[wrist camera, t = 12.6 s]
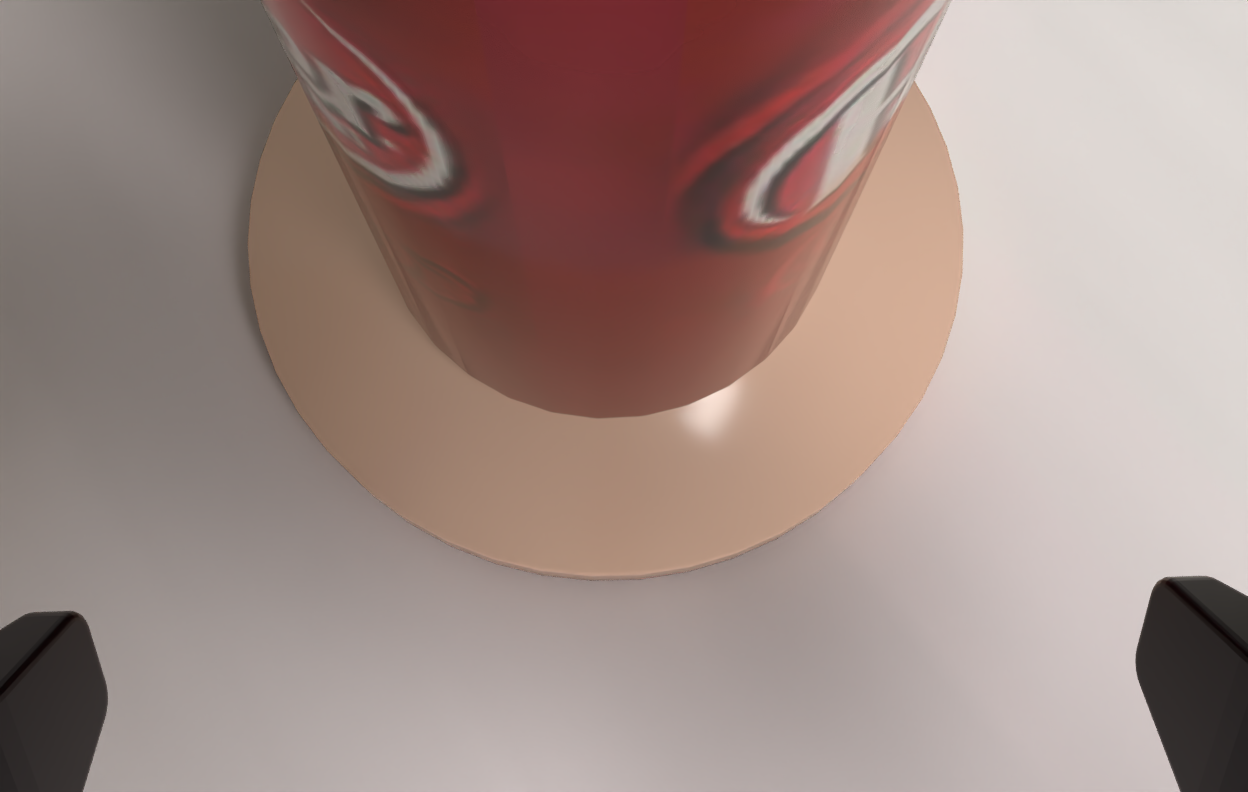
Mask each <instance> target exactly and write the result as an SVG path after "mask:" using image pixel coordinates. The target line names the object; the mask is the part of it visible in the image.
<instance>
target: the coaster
mask: <svg viewBox="0 0 1248 792" xmlns="http://www.w3.org/2000/svg"><path fill="white" fill-rule="evenodd" d="M248 256H249V271H250V286H251V291H252V295H253V300H254V305H255V309H256V314H257V319H258V323H259V328H260V331H261V334H262V337H263V339H264V342H265V345H266V347H267V350H268V353H269V355H270V358H271V361H272V363H273V366H274V369H275V371H276V373H277V375H278V377H279V379H280V381H281V382H282V384H283V386H284V388H285V390H286V391H287V393H288V395H289V397H290V399H291V401H292V402H293V404H294V406H295V408H296V410H297V411H298V413H299V414H300V415H301V417H302V418H303V419H304V421H305V422H306V423H307V425H308V426H309V427H310V429H311V430H312V431H313V433H314V434H315V435H316V437H317V438H318V439H319V441H320V442H321V443H322V445H323V446H324V447H325V449H326V450H327V451H328V452H329V453H330V454H331V455H332V456H333V457H334V458H335V459H336V460H337V461H338V462H339V463H340V464H341V465H342V466H343V467H344V468H345V469H346V470H347V471H348V472H349V473H350V474H351V475H352V476H353V477H354V478H355V479H356V480H357V481H358V482H359V483H360V484H361V485H362V486H363V487H364V488H366V489H367V490H368V491H369V492H370V493H371V494H372V495H373V496H374V497H375V498H377V499H378V500H379V501H381V502H382V503H383V504H385V505H386V506H387V507H389V508H390V509H391V510H393V511H394V512H395V513H397V514H398V515H399V516H401V517H402V518H403V519H404V520H406V521H407V522H408V523H410V524H412V525H413V526H415V527H417V528H419V529H421V530H422V531H424V532H426V533H428V534H430V535H431V536H433V537H435V538H437V539H439V540H440V541H442V542H444V543H446V544H448V545H449V546H451V547H454V548H456V549H459V550H461V551H464V552H466V553H469V554H472V555H474V556H477V557H479V558H482V559H484V560H487V561H489V562H492V563H495V564H498V565H502V566H506V567H510V568H514V569H518V570H523V571H527V572H531V573H535V574H539V575H543V576H553V577H562V578H571V579H581V580H590V581H596V580H636V579H645V578H652V577H658V576H664V575H671V574H677V573H683V572H689V571H692V570H695V569H699V568H702V567H706V566H709V565H712V564H716V563H719V562H722V561H726V560H729V559H732V558H735V557H737V556H739V555H742V554H744V553H746V552H748V551H751V550H753V549H755V548H757V547H759V546H762V545H764V544H766V543H768V542H771V541H773V540H775V539H777V538H779V537H780V536H782V535H784V534H785V533H787V532H788V531H790V530H792V529H793V528H795V527H796V526H798V525H800V524H801V523H803V522H804V521H806V520H808V519H809V518H811V517H812V516H814V515H816V514H817V513H818V512H819V511H821V510H822V509H823V508H824V507H825V506H827V505H828V504H829V503H830V502H831V501H833V500H834V499H835V498H836V497H837V496H839V495H840V494H841V493H842V492H843V491H845V490H846V489H847V488H848V487H849V486H851V485H852V484H853V483H854V482H855V481H856V480H857V479H858V478H859V477H860V476H861V475H862V474H863V473H864V472H865V471H866V469H867V468H868V467H869V466H870V465H871V464H872V463H873V462H874V461H875V460H876V458H877V457H878V456H879V455H880V454H881V453H882V452H883V451H884V450H885V449H886V447H887V446H888V445H889V444H890V443H891V442H892V441H893V440H894V439H895V437H896V436H897V435H898V433H899V432H900V430H901V429H902V427H903V426H904V425H905V423H906V422H907V420H908V419H909V417H910V416H911V414H912V413H913V411H914V410H915V408H916V407H917V405H918V404H919V402H920V401H921V399H922V398H923V396H924V394H925V392H926V390H927V387H928V385H929V383H930V381H931V379H932V377H933V375H934V373H935V371H936V369H937V367H938V365H939V363H940V361H941V359H942V356H943V353H944V350H945V346H946V343H947V340H948V337H949V334H950V331H951V328H952V324H953V321H954V318H955V314H956V308H957V302H958V296H959V290H960V284H961V278H962V264H963V225H962V217H961V209H960V201H959V193H958V186H957V183H956V179H955V175H954V171H953V168H952V164H951V160H950V157H949V153H948V149H947V146H946V144H945V141H944V139H943V137H942V134H941V132H940V130H939V127H938V125H937V122H936V120H935V118H934V115H933V113H932V111H931V108H930V107H929V105H928V103H927V101H926V100H925V98H924V96H923V95H922V93H921V91H920V90H919V88H918V86H917V85H916V83H915V81H914V82H913V84H912V86H911V89H910V91H909V93H908V95H907V97H906V99H905V101H904V104H903V106H902V108H901V110H900V112H899V114H898V116H897V119H896V121H895V123H894V125H893V127H892V129H891V131H890V134H889V136H888V138H887V140H886V142H885V144H884V146H883V148H882V151H881V153H880V155H879V157H878V159H877V161H876V163H875V166H874V168H873V170H872V172H871V174H870V176H869V178H868V181H867V183H866V185H865V187H864V189H863V191H862V193H861V196H860V198H859V200H858V202H857V204H856V206H855V208H854V211H853V213H852V215H851V217H850V219H849V221H848V223H847V226H846V228H845V230H844V232H843V234H842V236H841V238H840V241H839V243H838V245H837V247H836V249H835V251H834V253H833V255H832V258H831V260H830V262H829V264H828V266H827V268H826V270H825V273H824V275H823V277H822V279H821V281H820V283H819V285H818V288H817V290H816V292H815V293H814V295H813V297H812V298H811V300H810V302H809V304H808V305H807V307H806V309H805V311H804V312H803V314H802V316H801V317H800V319H799V321H798V323H797V324H796V326H795V327H794V328H793V330H792V331H791V332H790V333H789V334H788V335H787V336H786V337H785V338H784V339H783V341H782V342H781V343H780V344H779V345H778V346H777V347H776V348H775V349H774V351H773V352H772V353H771V354H770V355H769V356H768V357H767V358H766V359H765V360H764V361H763V362H761V363H760V364H759V365H757V366H756V367H754V368H753V369H752V370H750V371H749V372H748V373H746V374H745V375H744V376H742V377H741V378H739V379H738V380H737V381H735V382H734V383H733V384H731V385H730V386H728V387H726V388H724V389H722V390H720V391H718V392H716V393H713V394H711V395H709V396H707V397H705V398H703V399H700V400H698V401H696V402H694V403H692V404H690V405H687V406H683V407H679V408H675V409H671V410H667V411H663V412H659V413H655V414H651V415H647V416H640V417H621V418H602V419H595V418H588V417H581V416H574V415H566V414H559V413H552V412H549V411H546V410H543V409H540V408H537V407H534V406H531V405H528V404H525V403H522V402H519V401H516V400H513V399H510V398H508V397H506V396H504V395H503V394H501V393H499V392H497V391H496V390H494V389H492V388H490V387H489V386H487V385H485V384H484V383H482V382H480V381H478V380H477V379H475V378H473V377H471V376H470V375H468V374H467V373H466V372H465V371H464V370H463V369H462V368H460V367H459V366H458V365H457V364H456V363H455V362H454V361H452V360H451V359H450V358H449V357H448V356H447V355H446V354H445V353H443V352H442V351H441V350H440V349H439V348H438V347H437V346H435V345H434V343H433V342H432V341H431V339H430V338H429V337H428V335H427V334H426V333H425V331H424V330H423V329H422V327H421V326H420V325H419V323H418V322H417V321H416V319H415V318H414V317H413V315H412V314H411V313H410V311H409V310H408V308H407V306H406V303H405V301H404V299H403V297H402V295H401V293H400V291H399V289H398V287H397V285H396V283H395V280H394V278H393V276H392V274H391V272H390V270H389V268H388V266H387V264H386V262H385V260H384V258H383V255H382V253H381V251H380V249H379V247H378V245H377V243H376V241H375V239H374V237H373V235H372V232H371V230H370V228H369V226H368V224H367V222H366V220H365V218H364V216H363V214H362V212H361V210H360V207H359V205H358V203H357V201H356V199H355V197H354V195H353V193H352V191H351V189H350V187H349V184H348V182H347V180H346V178H345V176H344V174H343V172H342V170H341V168H340V166H339V164H338V161H337V159H336V157H335V155H334V153H333V151H332V149H331V147H330V145H329V143H328V141H327V139H326V136H325V134H324V132H323V130H322V128H321V126H320V124H319V122H318V120H317V118H316V116H315V113H314V111H313V109H312V107H311V105H310V103H309V101H308V99H307V97H306V95H305V93H304V90H303V88H302V86H301V84H300V82H299V80H298V79H297V80H296V81H295V83H294V85H293V87H292V89H291V90H290V92H289V94H288V96H287V98H286V100H285V102H284V103H283V105H282V107H281V109H280V111H279V113H278V115H277V116H276V118H275V121H274V123H273V126H272V129H271V131H270V134H269V137H268V139H267V142H266V145H265V147H264V150H263V153H262V155H261V158H260V162H259V166H258V171H257V175H256V180H255V184H254V189H253V193H252V198H251V206H250V219H249V232H248Z"/></svg>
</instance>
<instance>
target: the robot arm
mask: <svg viewBox="0 0 1248 792" xmlns="http://www.w3.org/2000/svg"><path fill="white" fill-rule="evenodd" d="M1136 672H1137V677H1138V680H1139V683H1140V686H1141V689H1142V692H1143V694H1144V697H1145V699H1146V702H1147V705H1148V707H1149V710H1150V713H1151V715H1152V718H1153V721H1154V723H1155V726H1156V728H1157V731H1158V734H1159V736H1160V739H1161V742H1162V744H1163V747H1164V750H1165V752H1166V755H1167V757H1168V760H1169V763H1170V765H1171V768H1172V771H1173V773H1174V776H1175V779H1176V781H1177V784H1178V786H1179V789H1180V792H1248V596H1246V595H1244V594H1243V593H1241V592H1239V591H1237V590H1235V589H1233V588H1231V587H1230V586H1228V585H1226V584H1224V583H1222V582H1220V581H1218V580H1217V579H1214V578H1212V577H1208V576H1182V577H1165V578H1163V579H1161V580H1159V581H1158V582H1157V583H1156V585H1155V586H1154V588H1153V590H1152V593H1151V596H1150V600H1149V604H1148V608H1147V611H1146V615H1145V619H1144V623H1143V627H1142V631H1141V635H1140V638H1139V642H1138V646H1137V651H1136ZM107 705H108V692H107V686H106V681H105V678H104V675H103V672H102V668H101V665H100V662H99V658H98V655H97V652H96V649H95V645H94V642H93V639H92V636H91V632H90V629H89V626H88V624H87V622H86V620H85V619H84V617H83V616H82V615H80V614H79V613H76V612H74V611H57V612H34V613H29V614H25V615H24V616H22V617H20V618H18V619H17V620H15V621H14V622H12V623H10V624H9V625H7V626H6V627H4V628H3V629H1V630H0V792H83V790H84V786H85V783H86V780H87V776H88V773H89V770H90V766H91V763H92V760H93V756H94V753H95V750H96V746H97V743H98V740H99V736H100V733H101V730H102V726H103V723H104V720H105V716H106V712H107Z"/></svg>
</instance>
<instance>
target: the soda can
mask: <svg viewBox="0 0 1248 792" xmlns="http://www.w3.org/2000/svg"><path fill="white" fill-rule="evenodd" d="M260 1H261V3H262V5H263V7H264V9H265V11H266V13H267V15H268V17H269V20H270V22H271V24H272V26H273V28H274V30H275V32H276V34H277V36H278V38H279V40H280V42H281V45H282V47H283V49H284V51H285V53H286V55H287V57H288V59H289V61H290V63H291V65H292V68H293V70H294V72H295V74H296V76H297V78H298V80H299V82H300V84H301V86H302V88H303V90H304V93H305V95H306V97H307V99H308V101H309V103H310V105H311V107H312V109H313V111H314V113H315V116H316V118H317V120H318V122H319V124H320V126H321V128H322V130H323V132H324V134H325V136H326V139H327V141H328V143H329V145H330V147H331V149H332V151H333V153H334V155H335V157H336V159H337V161H338V164H339V166H340V168H341V170H342V172H343V174H344V176H345V178H346V180H347V182H348V184H349V187H350V189H351V191H352V193H353V195H354V197H355V199H356V201H357V203H358V205H359V207H360V210H361V212H362V214H363V216H364V218H365V220H366V222H367V224H368V226H369V228H370V230H371V232H372V235H373V237H374V239H375V241H376V243H377V245H378V247H379V249H380V251H381V253H382V255H383V258H384V260H385V262H386V264H387V266H388V268H389V270H390V272H391V274H392V276H393V278H394V280H395V283H396V285H397V287H398V289H399V291H400V293H401V295H402V297H403V299H404V301H405V303H406V306H407V308H408V310H409V311H410V313H411V314H412V315H413V317H414V318H415V319H416V321H417V322H418V323H419V325H420V326H421V327H422V329H423V330H424V331H425V333H426V334H427V335H428V337H429V338H430V339H431V341H432V342H433V343H434V345H435V346H437V347H438V348H439V349H440V350H441V351H442V352H443V353H445V354H446V355H447V356H448V357H449V358H450V359H451V360H452V361H454V362H455V363H456V364H457V365H458V366H459V367H460V368H462V369H463V370H464V371H465V372H466V373H467V374H468V375H470V376H471V377H473V378H475V379H477V380H478V381H480V382H482V383H484V384H485V385H487V386H489V387H490V388H492V389H494V390H496V391H497V392H499V393H501V394H503V395H504V396H506V397H508V398H510V399H513V400H516V401H519V402H522V403H525V404H528V405H531V406H534V407H537V408H540V409H543V410H546V411H549V412H552V413H559V414H566V415H574V416H581V417H588V418H595V419H602V418H621V417H640V416H647V415H651V414H655V413H659V412H663V411H667V410H671V409H675V408H679V407H683V406H687V405H690V404H692V403H694V402H696V401H698V400H700V399H703V398H705V397H707V396H709V395H711V394H713V393H716V392H718V391H720V390H722V389H724V388H726V387H728V386H730V385H731V384H733V383H734V382H735V381H737V380H738V379H739V378H741V377H742V376H744V375H745V374H746V373H748V372H749V371H750V370H752V369H753V368H754V367H756V366H757V365H759V364H760V363H761V362H763V361H764V360H765V359H766V358H767V357H768V356H769V355H770V354H771V353H772V352H773V351H774V349H775V348H776V347H777V346H778V345H779V344H780V343H781V342H782V341H783V339H784V338H785V337H786V336H787V335H788V334H789V333H790V332H791V331H792V330H793V328H794V327H795V326H796V324H797V323H798V321H799V319H800V317H801V316H802V314H803V312H804V311H805V309H806V307H807V305H808V304H809V302H810V300H811V298H812V297H813V295H814V293H815V292H816V290H817V288H818V285H819V283H820V281H821V279H822V277H823V275H824V273H825V270H826V268H827V266H828V264H829V262H830V260H831V258H832V255H833V253H834V251H835V249H836V247H837V245H838V243H839V241H840V238H841V236H842V234H843V232H844V230H845V228H846V226H847V223H848V221H849V219H850V217H851V215H852V213H853V211H854V208H855V206H856V204H857V202H858V200H859V198H860V196H861V193H862V191H863V189H864V187H865V185H866V183H867V181H868V178H869V176H870V174H871V172H872V170H873V168H874V166H875V163H876V161H877V159H878V157H879V155H880V153H881V151H882V148H883V146H884V144H885V142H886V140H887V138H888V136H889V134H890V131H891V129H892V127H893V125H894V123H895V121H896V119H897V116H898V114H899V112H900V110H901V108H902V106H903V104H904V101H905V99H906V97H907V95H908V93H909V91H910V89H911V86H912V84H913V82H914V80H915V78H916V76H917V74H918V71H919V69H920V67H921V65H922V63H923V61H924V59H925V56H926V54H927V52H928V50H929V48H930V46H931V44H932V41H933V39H934V37H935V35H936V33H937V31H938V29H939V27H940V24H941V22H942V20H943V18H944V16H945V14H946V12H947V9H948V7H949V5H950V3H951V1H952V0H260Z"/></svg>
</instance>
